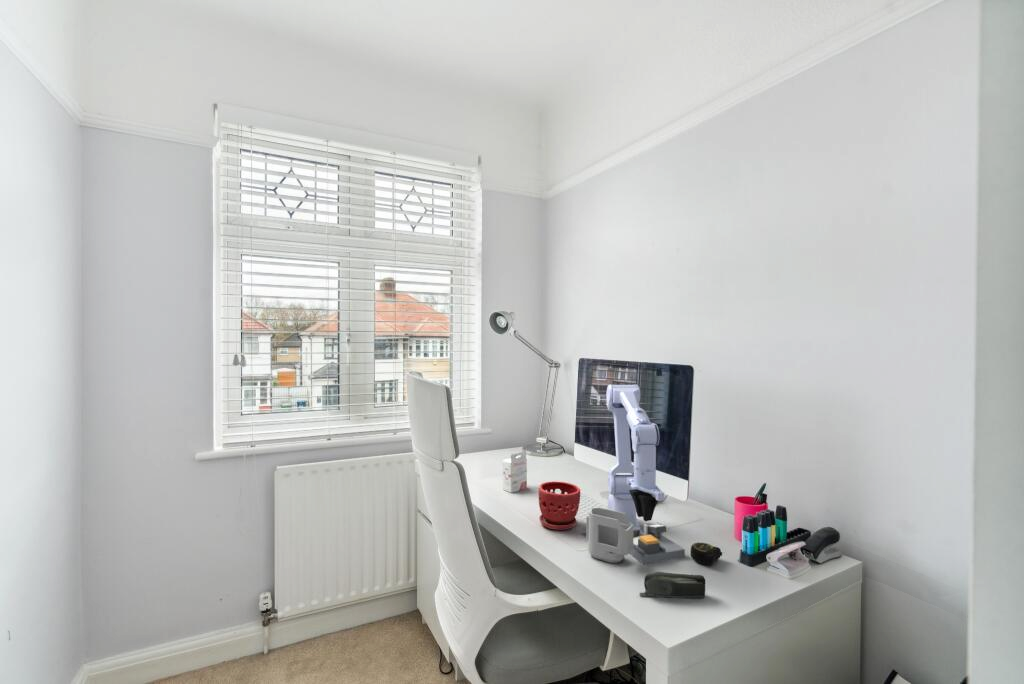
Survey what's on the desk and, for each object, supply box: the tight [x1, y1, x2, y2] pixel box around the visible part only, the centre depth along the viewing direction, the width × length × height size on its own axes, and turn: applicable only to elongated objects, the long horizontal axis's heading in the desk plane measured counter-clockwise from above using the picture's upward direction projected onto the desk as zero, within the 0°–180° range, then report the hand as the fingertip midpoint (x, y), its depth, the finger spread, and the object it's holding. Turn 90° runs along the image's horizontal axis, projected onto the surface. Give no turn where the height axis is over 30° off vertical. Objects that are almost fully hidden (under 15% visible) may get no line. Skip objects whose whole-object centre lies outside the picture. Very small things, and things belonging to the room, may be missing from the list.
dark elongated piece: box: [639, 571, 706, 600], centre depth 107 cm, size 5×3×15 cm
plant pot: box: [538, 481, 581, 531], centre depth 147 cm, size 13×13×12 cm
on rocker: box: [640, 522, 668, 533], centre depth 135 cm, size 8×3×2 cm, turn 19°
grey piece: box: [585, 507, 633, 564], centre depth 125 cm, size 7×12×12 cm, turn 56°
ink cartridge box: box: [502, 451, 528, 494], centre depth 182 cm, size 9×5×15 cm, turn 132°
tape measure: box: [690, 542, 724, 566], centre depth 124 cm, size 7×7×4 cm
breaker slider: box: [638, 535, 660, 554], centre depth 125 cm, size 4×4×3 cm
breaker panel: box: [628, 521, 686, 565], centre depth 132 cm, size 17×13×5 cm
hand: (644, 518), depth 127 cm, fingers open, 2 cm apart
